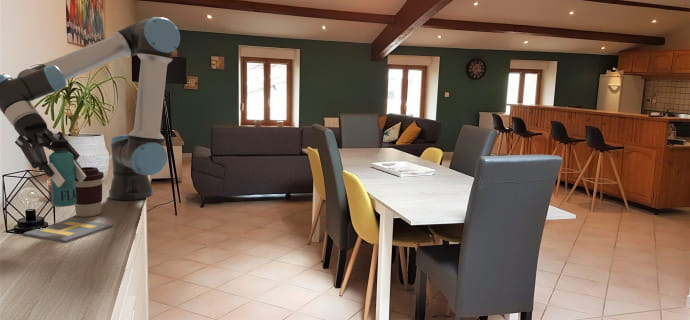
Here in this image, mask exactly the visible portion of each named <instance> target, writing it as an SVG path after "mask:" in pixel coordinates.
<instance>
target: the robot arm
mask: <svg viewBox="0 0 690 320" xmlns="http://www.w3.org/2000/svg"><path fill="white" fill-rule="evenodd" d="M180 43H181V34H180V31H179V29H178V27H177V26H176V24H175V23H174V22H173V21H171V20H170V19H169V18H166V17H160V16H159V17H158V16H153V17H150V18H145V19H144V18H143V19H140V20H137V21H135V22H132V24H130V25H128V26H125V27H124V28H121V29H120V30H116V31H114V32H113V35H112V36H110V37H107V38H105V39H102V40H100V41H96V42H95V43H92V44H90V45H87V46H84V47H82V48H80V49H79V48H78V49H77V50H74V51H72V52H69V53H67V54H64V55H62V56H59V57H57V58H54V59H52V60H49V61H46V62H44V63H42V64H39V65H37V66H34V67H32V68H25V69H24V70H21V71H20V72H19V73H18V74H17V76H16V77H15V78H14V77H13V76H11V75H9V74H7V73H3V74H0V111H1V112H2V113H3V116H5V118H6V119H7V120H8V122H9V124H10V125H11V126H12V127H13V128H14V130H15V131H16V132H17V134H18V137H17V138H16V140H15V141H14V144H15V145H16V146H18V147H19V148H20V150H21V151H22V153H23V154H24V156H25V158H26V160H27V161H28V162H29V164H30V167H32V168H33V169H38V171H40V172H44V173H45V174H46V176H47V177H48V178H50V177H51V178H50V180H51V179H52V180H53V181H54V183H55V184H56V185H57V187H61V185H62V184H63V183H64V181H65V180H64V179H63V177H62V176H61V175H60V173H59V172H58V171H57V169H56V168H55V167H54V165H53V164H52V163H49V160H48V158H47V155H46V152H45V149H44V147H45V148H46V149H47V150H50V151H52V152H58V151H68V152H70V153H72V154H73V155H74V169H75V177H76V178H77V179H78V181H79V182H82V181H83V180H84V179H85V178H86V175H85V173H84V172H83V171H82V169H81V168H82V166H81V165H80V164H79V162H78V161H77V160H78V159H79V157H80V156H81V155H80V153H78V152H77V150H76V149H75V148H74V147H73V145H72V144H70V143H69V141H68V144H69V147H68V148H52V141H54V140H67V139H66V138H65V136H64V134H63V132H62V131H58V132H57V133H56V132H54V133H53V131H52V130H50V129H49V128H48V125H47V122H46V121H45V119H44V118H43V117H42V116H41V114H40V113H39V111H38V110H37V109H36V107H34V105H33V104H32V102H33V101H34V100H36V99H37V100H38V99H40V98H42V97H44V96H45V97H46V96H47V95H50V94H53V93H56V92H58V91H61V90H62V89H64V88H66V87H67V81H68V80H71V79H73V78H76V77H79V76H81V75H83V74H85V73H88V72H90V71H93V70H95V69H97V68H99V67H102V66H105V65H107V64H109V63H112V62H114V61H116V60H118V59H122V58H131V57H134V56H137V57H138V58H139V59H140V65H139V67H140V69H139V76H138V84H137V85H138V86H137V96H136V105H135V106H136V107H135V116H134V125H133V129H132V130H131V131H130V132H129V133H128V134H126V135H125V134H124V135H122V134H121V135H114V136H112V138H111V143H110V148H111V159H112V160H111V161H112V174H113V175H112V181H111V185H110V189H108V190H109V191H108V197H109V198H110V199H111V200H116V201H135V200H143V199H147V198H150V197H152V196H153V195H154V189H153V187H152V185H151V181H150V178H149V176H154V175H156V174H158V173H160V172H161V171H162V170H163V169H164V168H165V166H166V164H167V161H168V154H167V150H166V149H165V147H164V144H165V143H164V142H165V137H164V135H163V134H162V133H161V128H162V127H161V126H162V117H163V108H164V98H165V90H166V81H167V79H166V78H167V70H168V64H170V63H171V62H172V61H173V58H174V51H175V50H176V49H177V48H178V47H179V45H180ZM109 198H108V199H109Z"/></svg>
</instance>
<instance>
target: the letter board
mask: <svg viewBox="0 0 690 320" xmlns="http://www.w3.org/2000/svg"><path fill="white" fill-rule="evenodd" d="M54 224H55V223H51V224H49V225H47V226H48V227H46V228H42V227H39V228H40V229H38V228H35V229H31V230H28V231H25V232H23V235H24V236H28V237H32V238H38V239H43V240H50V241H54V242H60V243H69V242H72V241H75V240H77V239H80V238H83V237H86V236H89V235H92V234H96V233H98V232H101V231H103V229H104V230H107V229H109V228H112V227H113V224H109V223H104V222H97V221H92V220H87V219H86V220H85V219H78V218H69V219H65V220H62V221H59V222H56V224H55V225H54ZM106 228H107V229H106ZM100 230H101V231H100Z"/></svg>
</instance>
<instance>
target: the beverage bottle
mask: <svg viewBox="0 0 690 320" xmlns="http://www.w3.org/2000/svg"><path fill="white" fill-rule="evenodd" d="M68 142H69V140H67V139H66V140H54V141H52V148H68V147H69V144H70V143H69V144H68ZM49 163H52V164H53V165H54V167H55V168H56V169H57V171H58V172H59V173H60V175H61V176H62V177H63V179H64V180H65V181H64V183H63V184H62V185H61V187H57V185H56V184H55V183H54V181H53V180H52V179H51V177H49V178H50V187H49V188H50V196H51V204H52V206H53V207H56V208H59V207H60V208H63V207H64V208H65V207H71V206H75V204H76V202H77V199H76V196H77V191H76V184H75V183H76V182H75V169H74V155H73V154H72V153H70V152H68V151H58V152H54V151H52V153H50V154H49V155H48V164H49Z"/></svg>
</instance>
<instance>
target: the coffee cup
mask: <svg viewBox="0 0 690 320" xmlns="http://www.w3.org/2000/svg"><path fill="white" fill-rule="evenodd" d="M81 169H82V171H83V172H84V173H85V175H86V178H85V179H84V180H83V181H82V182H79V181H78V179H77V178H76V177H75V182H76V183H75V184H76V191H77V196H76V199H77V202H76V204H75V205H74V208H75V214H76V216H77V217H81V218H88V217H94V216H98V215H100V214H101V213H102V201H103V183H102V182H103V181H102V180H103V178H104V177H105V176H104V175H105V174H104V172H103V171H100V170H99V168H98V167H95V166H83V167H81Z"/></svg>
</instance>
